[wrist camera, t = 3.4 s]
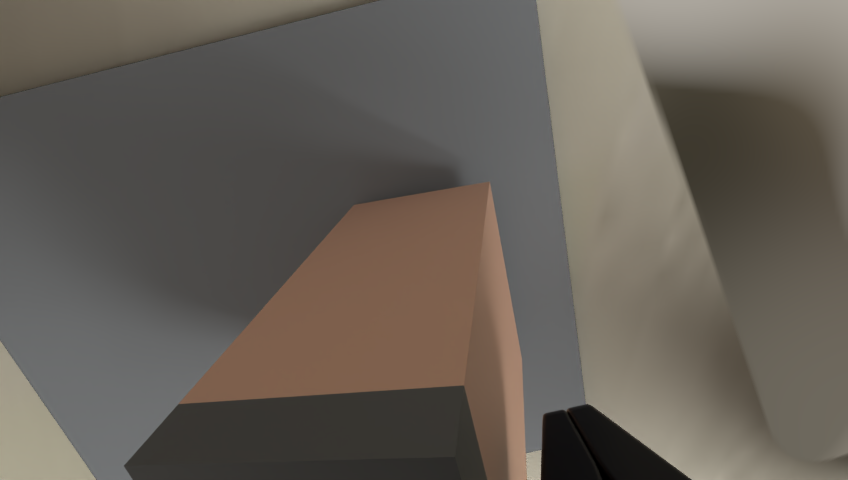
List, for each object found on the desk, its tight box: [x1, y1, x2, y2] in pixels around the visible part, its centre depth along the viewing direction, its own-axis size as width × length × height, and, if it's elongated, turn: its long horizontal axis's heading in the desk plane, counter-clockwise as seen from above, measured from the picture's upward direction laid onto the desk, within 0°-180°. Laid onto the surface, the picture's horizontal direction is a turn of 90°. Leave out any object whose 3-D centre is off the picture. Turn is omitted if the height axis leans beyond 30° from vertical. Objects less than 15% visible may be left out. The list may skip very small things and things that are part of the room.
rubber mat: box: [0, 0, 586, 480], centre depth 15 cm, size 18×16×1 cm
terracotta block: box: [124, 182, 527, 480], centre depth 10 cm, size 4×6×9 cm, turn 13°
